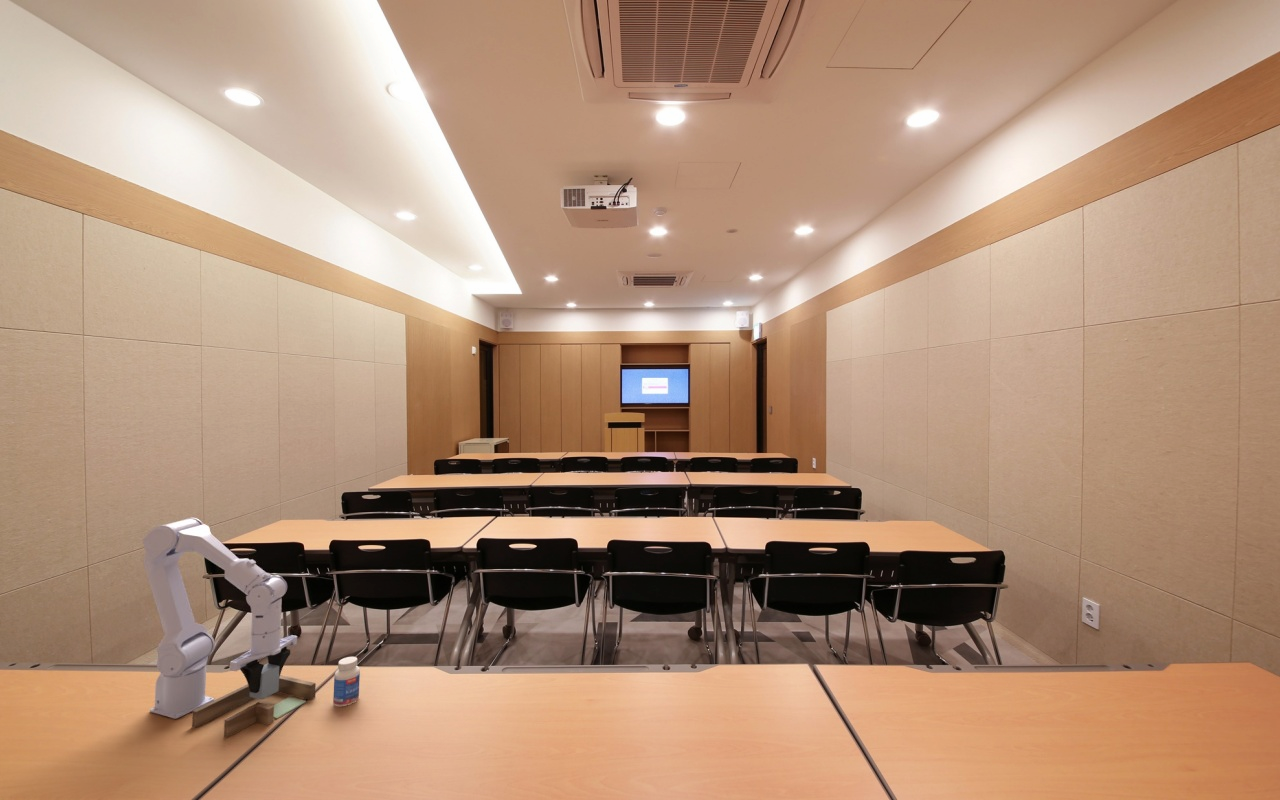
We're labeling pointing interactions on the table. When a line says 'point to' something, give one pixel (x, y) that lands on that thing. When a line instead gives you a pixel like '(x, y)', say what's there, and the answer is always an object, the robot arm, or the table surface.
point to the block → (268, 681)
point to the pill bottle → (346, 682)
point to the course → (254, 712)
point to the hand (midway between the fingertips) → (264, 686)
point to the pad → (286, 706)
